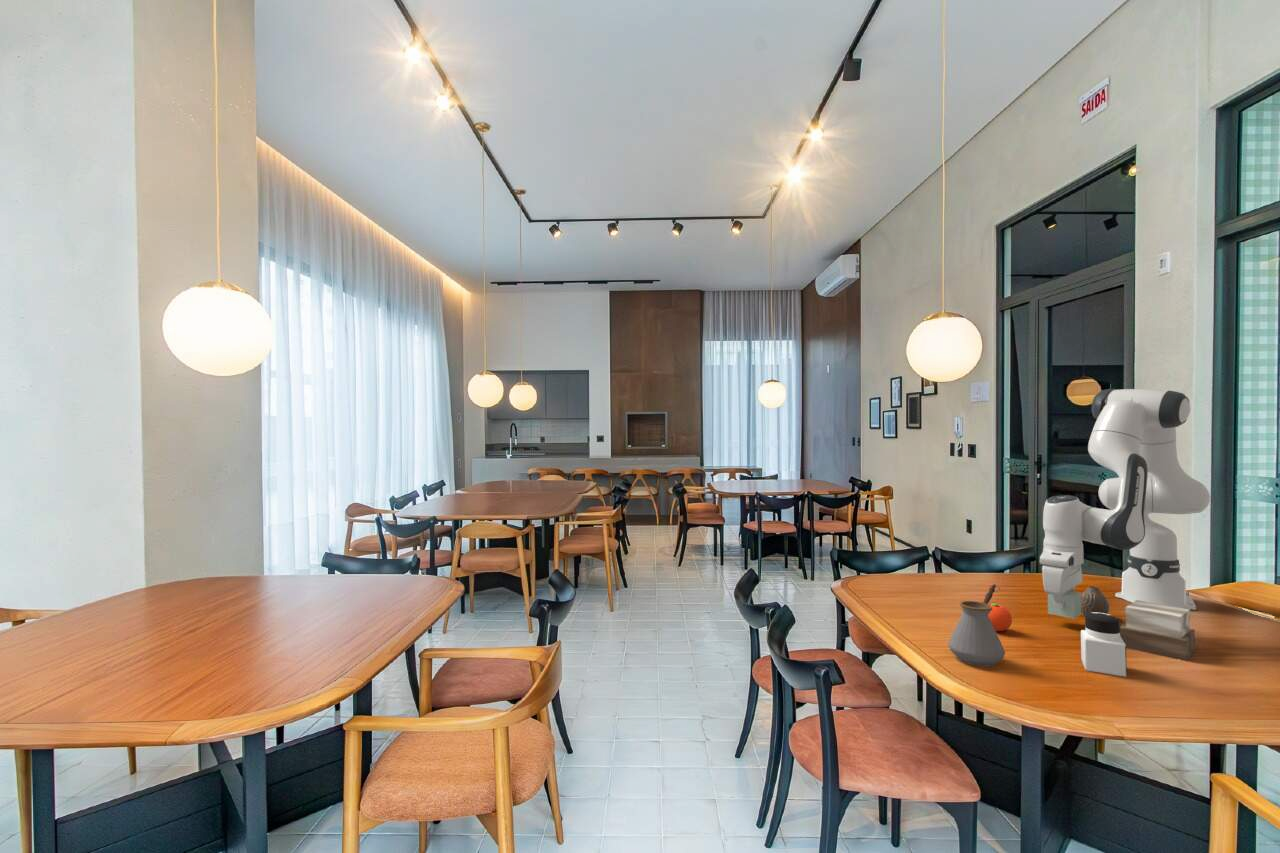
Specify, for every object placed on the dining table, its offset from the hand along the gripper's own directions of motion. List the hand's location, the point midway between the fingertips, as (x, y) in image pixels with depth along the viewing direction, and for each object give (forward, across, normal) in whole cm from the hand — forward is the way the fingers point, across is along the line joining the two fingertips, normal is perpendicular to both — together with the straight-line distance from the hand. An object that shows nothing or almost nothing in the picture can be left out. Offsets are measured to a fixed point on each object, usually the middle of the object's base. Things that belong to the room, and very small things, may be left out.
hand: (1064, 605), depth 156 cm
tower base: (+6, +2, +19) cm, 20 cm away
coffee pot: (+5, +40, -6) cm, 41 cm away
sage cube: (+2, 0, 0) cm, 2 cm away
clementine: (+6, +18, -11) cm, 22 cm away
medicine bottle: (+5, +28, +14) cm, 32 cm away
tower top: (+1, +2, +20) cm, 20 cm away
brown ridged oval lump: (+6, -15, +3) cm, 16 cm away
